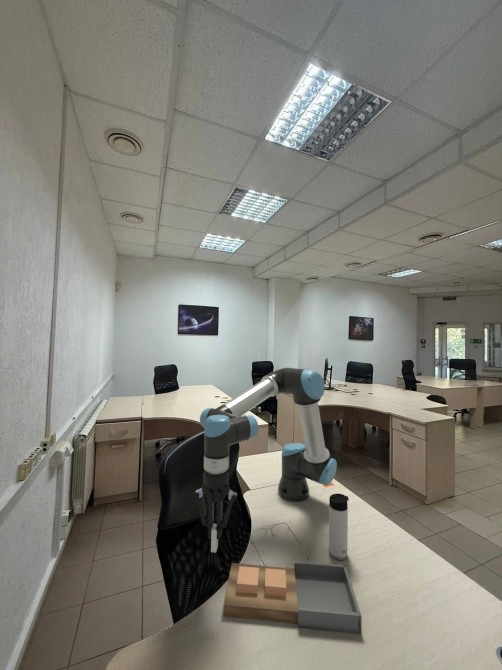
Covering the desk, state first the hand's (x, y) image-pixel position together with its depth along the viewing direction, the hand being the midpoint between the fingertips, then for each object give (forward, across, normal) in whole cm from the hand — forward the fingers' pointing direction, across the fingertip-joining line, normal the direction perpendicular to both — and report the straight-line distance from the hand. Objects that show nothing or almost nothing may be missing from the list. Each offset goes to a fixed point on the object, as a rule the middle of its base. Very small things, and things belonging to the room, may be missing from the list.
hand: (214, 548), depth 82 cm
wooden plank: (+13, +14, 0) cm, 19 cm away
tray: (+12, +32, 0) cm, 35 cm away
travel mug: (+12, +40, +19) cm, 46 cm away
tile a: (+10, +10, 0) cm, 14 cm away
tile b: (+10, +18, 0) cm, 21 cm away
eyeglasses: (+13, +19, +18) cm, 29 cm away
